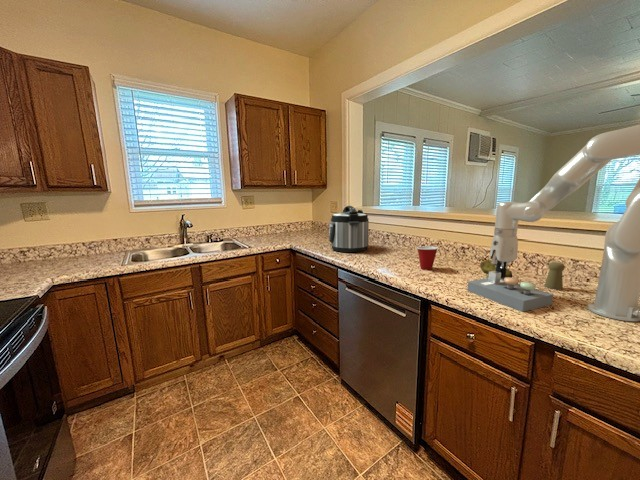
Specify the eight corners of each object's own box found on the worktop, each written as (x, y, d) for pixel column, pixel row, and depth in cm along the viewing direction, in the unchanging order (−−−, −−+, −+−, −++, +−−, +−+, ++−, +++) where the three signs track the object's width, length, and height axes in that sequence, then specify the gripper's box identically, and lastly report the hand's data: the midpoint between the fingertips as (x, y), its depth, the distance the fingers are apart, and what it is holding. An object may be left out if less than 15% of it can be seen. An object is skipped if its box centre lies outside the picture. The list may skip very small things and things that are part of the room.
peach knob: (519, 291, 102) (521, 280, 102) (511, 293, 101) (513, 281, 100) (508, 287, 106) (509, 276, 106) (500, 289, 105) (501, 278, 104)
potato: (503, 282, 122) (505, 265, 120) (476, 275, 133) (477, 259, 132) (514, 280, 125) (516, 263, 124) (486, 273, 137) (488, 257, 135)
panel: (551, 304, 98) (553, 293, 97) (522, 311, 92) (523, 300, 92) (494, 285, 118) (495, 276, 117) (467, 290, 113) (468, 281, 112)
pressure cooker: (339, 244, 216) (339, 204, 211) (373, 247, 203) (374, 205, 198) (322, 251, 190) (321, 206, 185) (360, 255, 177) (361, 207, 172)
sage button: (537, 297, 97) (538, 285, 96) (529, 298, 95) (530, 286, 95) (524, 292, 101) (525, 281, 100) (516, 294, 99) (517, 282, 99)
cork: (544, 284, 119) (547, 260, 118) (562, 287, 116) (566, 262, 114) (544, 288, 115) (547, 263, 113) (563, 291, 111) (567, 265, 109)
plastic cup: (427, 265, 152) (428, 244, 150) (441, 270, 142) (442, 248, 140) (411, 266, 149) (412, 245, 147) (424, 272, 139) (425, 249, 137)
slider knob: (500, 282, 109) (501, 272, 109) (494, 283, 108) (495, 273, 107) (493, 279, 112) (494, 270, 111) (487, 280, 111) (488, 271, 110)
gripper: (501, 235, 102) (496, 281, 105) (527, 233, 107) (522, 277, 110) (483, 232, 109) (478, 276, 112) (509, 230, 114) (504, 272, 117)
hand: (500, 276), depth 111 cm, fingers closed
